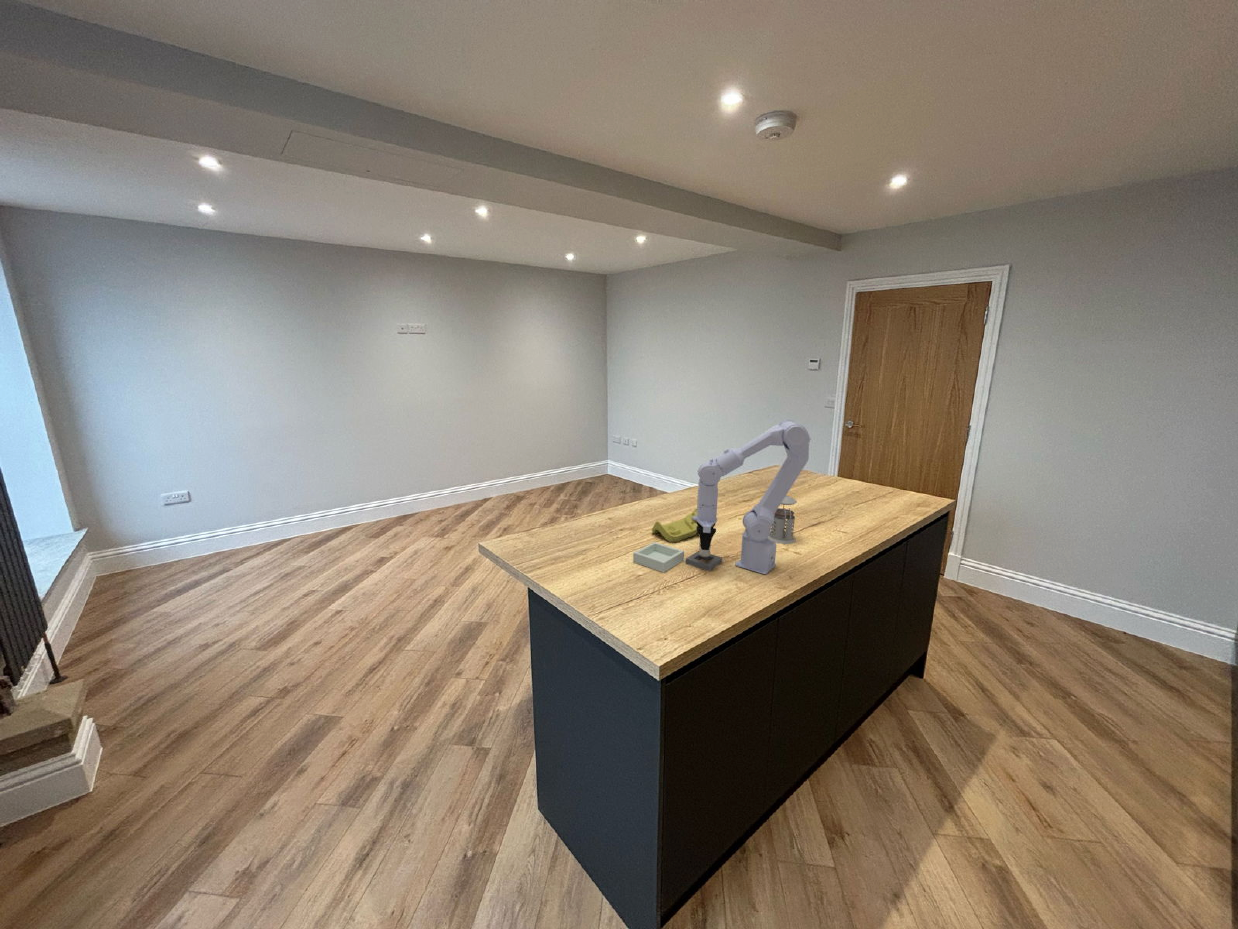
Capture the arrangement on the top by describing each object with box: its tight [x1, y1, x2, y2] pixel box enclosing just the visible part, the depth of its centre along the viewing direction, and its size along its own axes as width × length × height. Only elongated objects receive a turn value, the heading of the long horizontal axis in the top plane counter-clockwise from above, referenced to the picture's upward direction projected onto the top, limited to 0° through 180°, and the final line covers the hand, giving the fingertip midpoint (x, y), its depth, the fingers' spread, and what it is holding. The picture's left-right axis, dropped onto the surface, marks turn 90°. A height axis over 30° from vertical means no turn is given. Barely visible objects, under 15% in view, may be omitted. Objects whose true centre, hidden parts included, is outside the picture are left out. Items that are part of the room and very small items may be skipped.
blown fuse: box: [698, 543, 711, 557], centre depth 137 cm, size 3×3×6 cm
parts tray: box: [632, 541, 685, 573], centre depth 139 cm, size 11×11×3 cm
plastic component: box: [651, 508, 698, 543], centre depth 162 cm, size 20×7×10 cm
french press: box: [768, 495, 798, 545], centre depth 155 cm, size 10×12×25 cm
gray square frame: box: [685, 550, 723, 572], centre depth 138 cm, size 8×8×2 cm
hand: (704, 547), depth 137 cm, fingers closed on blown fuse, 3 cm apart
